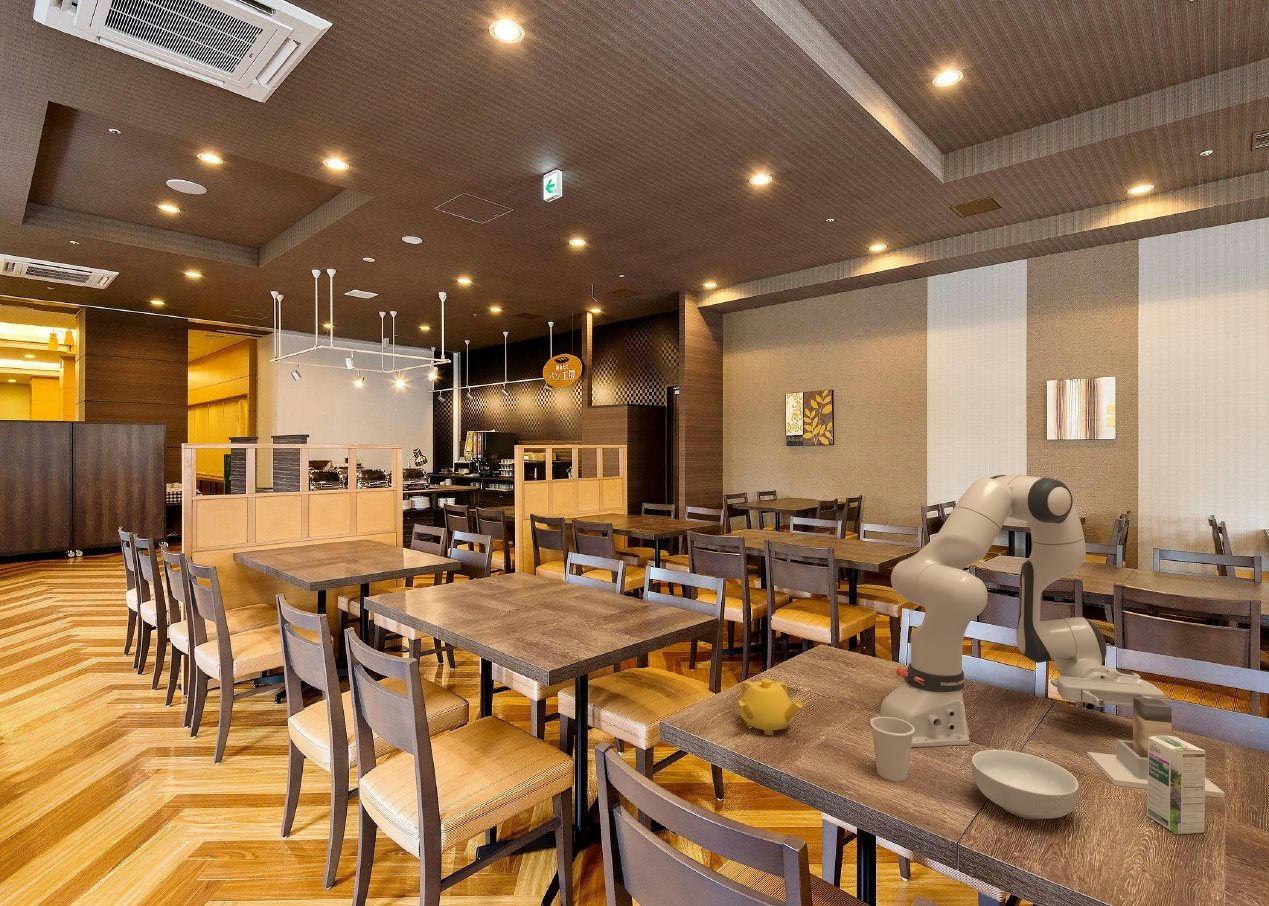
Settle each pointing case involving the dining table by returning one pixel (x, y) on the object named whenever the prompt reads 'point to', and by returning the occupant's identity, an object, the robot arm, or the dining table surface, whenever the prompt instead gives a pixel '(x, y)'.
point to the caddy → (1133, 768)
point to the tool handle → (1149, 722)
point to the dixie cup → (892, 747)
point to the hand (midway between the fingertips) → (1125, 705)
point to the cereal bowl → (1025, 784)
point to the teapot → (767, 705)
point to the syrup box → (1176, 784)
